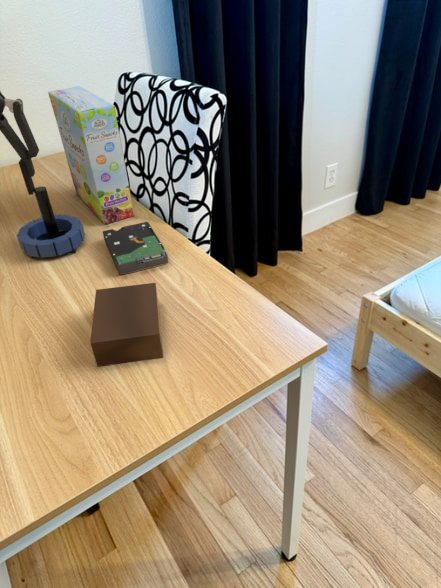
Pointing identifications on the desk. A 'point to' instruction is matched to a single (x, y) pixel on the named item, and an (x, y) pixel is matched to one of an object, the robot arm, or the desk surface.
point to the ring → (51, 246)
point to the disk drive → (135, 248)
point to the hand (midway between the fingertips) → (11, 193)
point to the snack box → (93, 151)
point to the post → (48, 217)
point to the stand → (126, 325)
